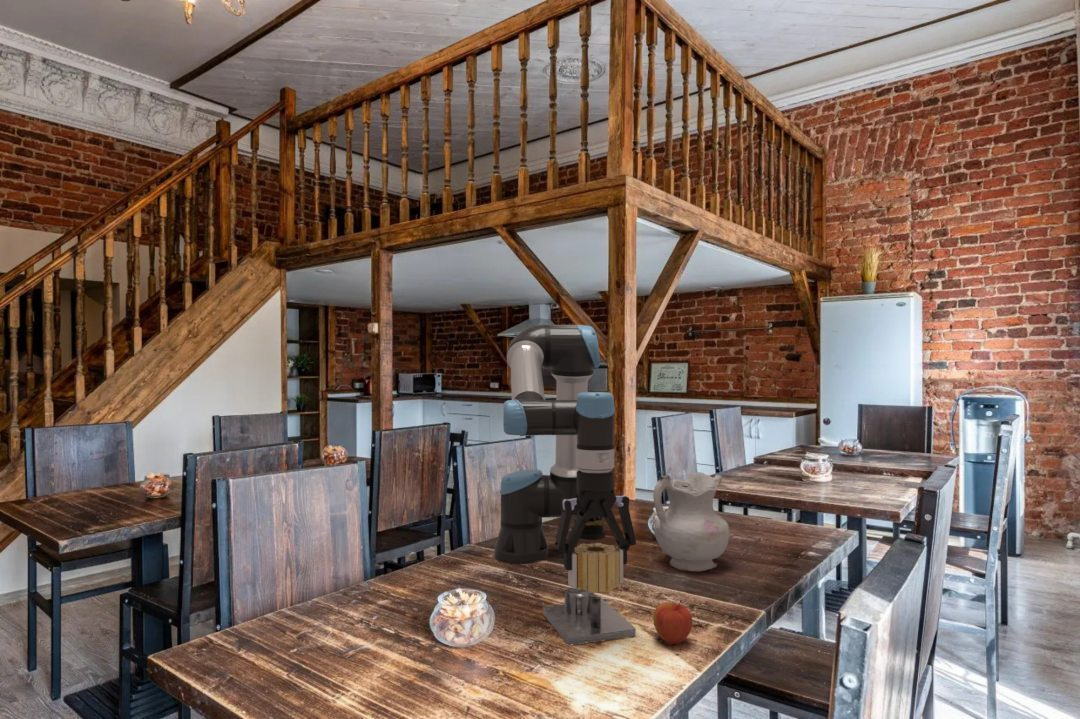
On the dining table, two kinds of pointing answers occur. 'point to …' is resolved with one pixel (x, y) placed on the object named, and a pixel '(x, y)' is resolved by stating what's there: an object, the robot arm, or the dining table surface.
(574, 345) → the robot arm
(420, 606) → the dining table surface
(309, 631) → the dining table surface
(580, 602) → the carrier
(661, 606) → the apple
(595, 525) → the lantern
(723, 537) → the ceramic pitcher
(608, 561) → the gear
